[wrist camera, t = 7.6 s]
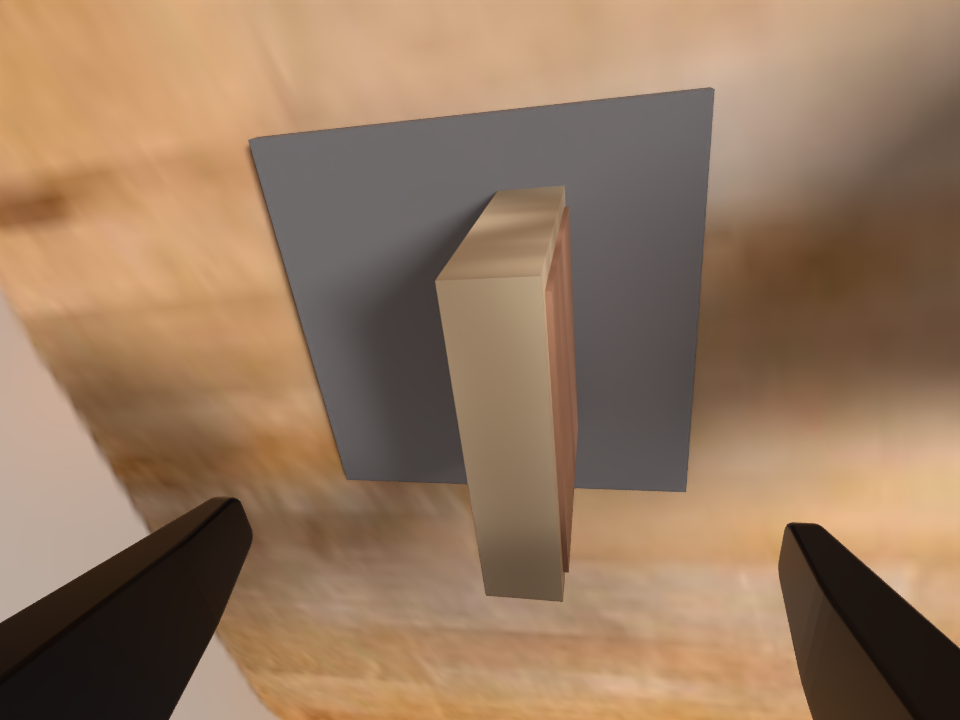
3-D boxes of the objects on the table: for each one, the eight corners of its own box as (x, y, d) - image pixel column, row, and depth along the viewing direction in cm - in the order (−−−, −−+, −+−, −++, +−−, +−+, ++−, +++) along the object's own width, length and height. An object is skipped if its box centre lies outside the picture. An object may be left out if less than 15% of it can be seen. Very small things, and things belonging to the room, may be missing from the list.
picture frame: (569, 184, 13) (548, 275, 8) (578, 428, 17) (568, 601, 12) (497, 190, 14) (434, 281, 9) (521, 428, 17) (485, 595, 12)
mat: (710, 87, 12) (714, 89, 12) (684, 480, 17) (686, 492, 17) (258, 136, 15) (248, 140, 14) (352, 470, 20) (346, 479, 19)
